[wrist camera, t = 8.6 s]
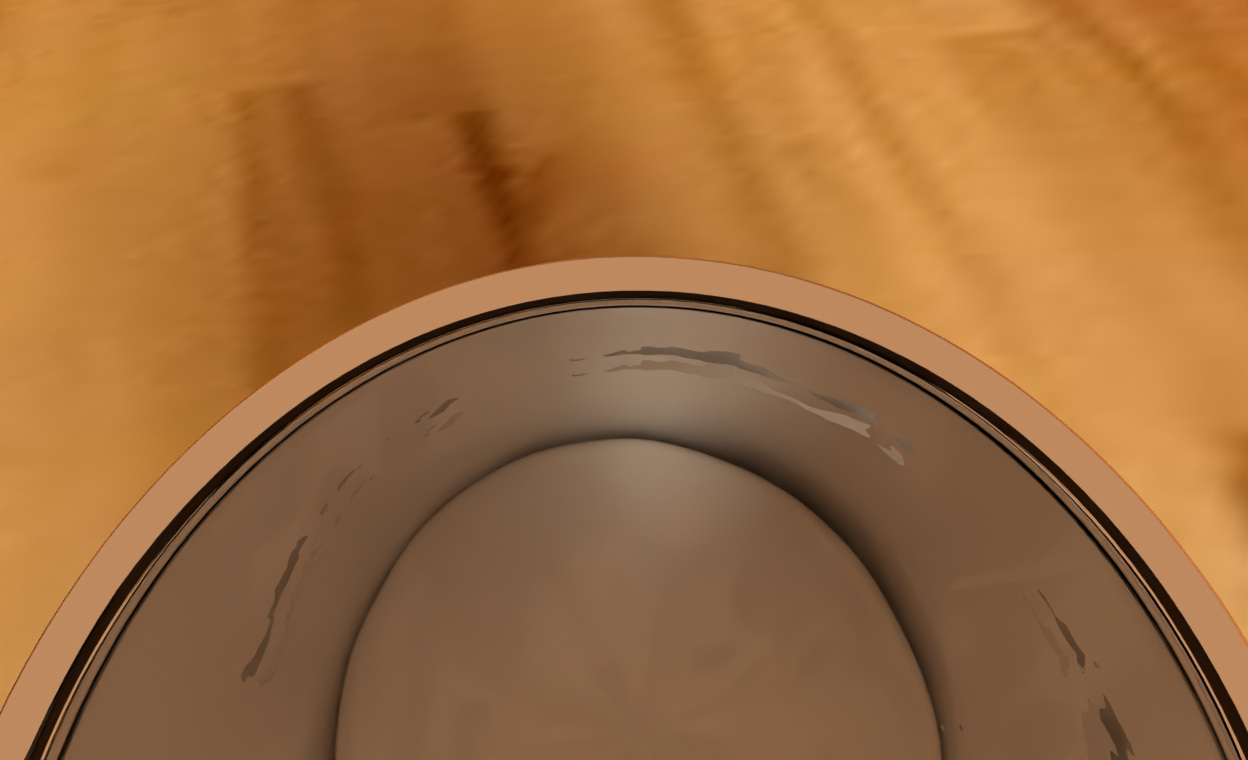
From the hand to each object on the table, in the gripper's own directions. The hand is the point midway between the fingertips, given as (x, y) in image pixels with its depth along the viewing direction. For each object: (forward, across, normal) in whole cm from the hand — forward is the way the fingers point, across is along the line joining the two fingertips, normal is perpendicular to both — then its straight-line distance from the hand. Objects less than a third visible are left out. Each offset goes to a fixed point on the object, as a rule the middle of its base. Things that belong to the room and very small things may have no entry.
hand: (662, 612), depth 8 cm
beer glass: (+6, 0, +8) cm, 10 cm away
